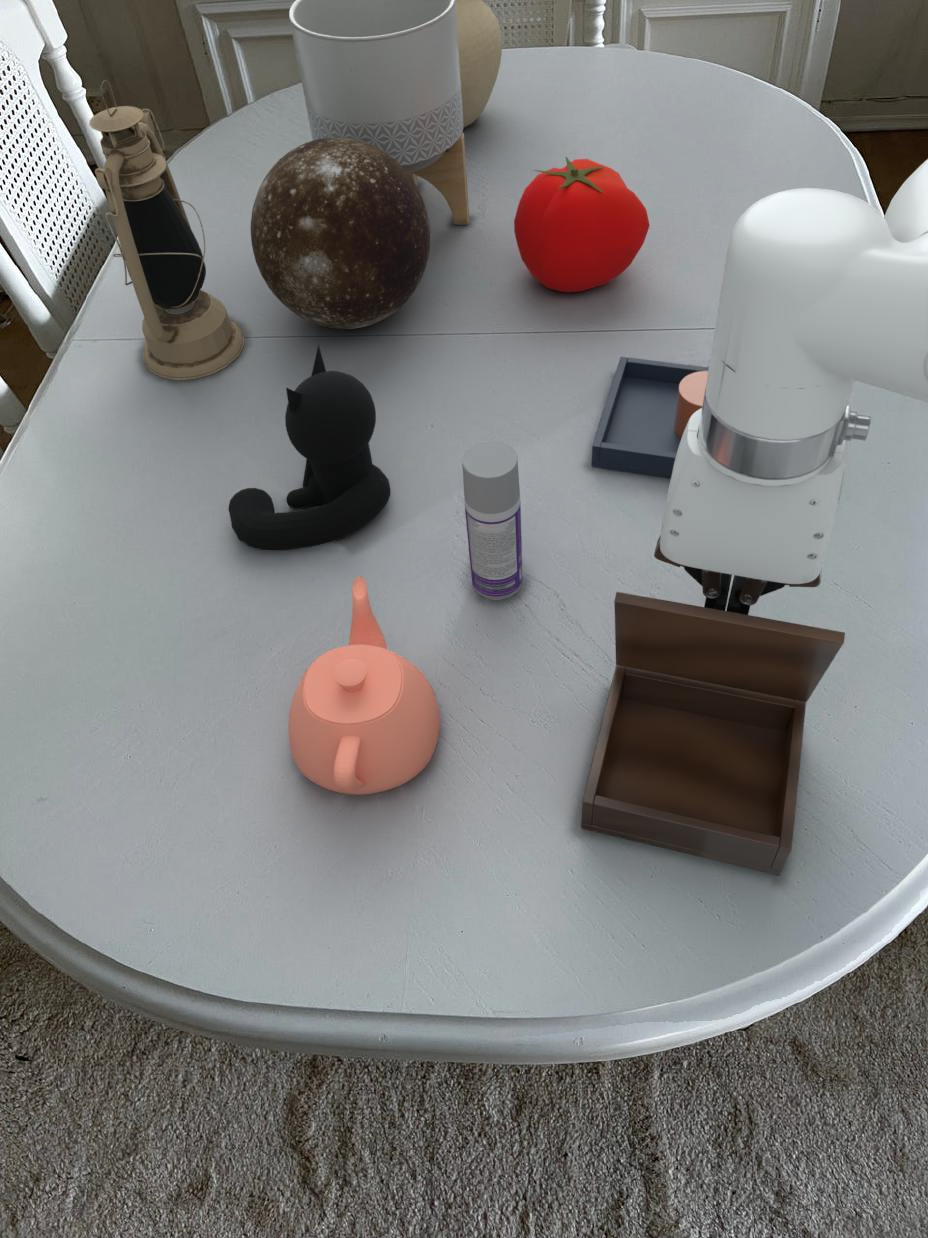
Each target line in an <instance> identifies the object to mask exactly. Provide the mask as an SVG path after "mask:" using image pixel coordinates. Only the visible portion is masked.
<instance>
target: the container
mask: <svg viewBox="0 0 928 1238" xmlns="http://www.w3.org/2000/svg"><path fill="white" fill-rule="evenodd" d="M518 460H519V459H518V453H517V451H516V450H515V448H513V446H512V445H510V444H509V443H506V442H504V441H501V440H495V439H494V440H493V439H492V440H491V439H489V440H482V441H479V442H475V443H474V444H472V445H470V446H469V447H468V448H467V449H466V450H464V452H463V455H462V458H461V465H462V478H463V479H462V481H463V499H464V500H463V501H464V512H465V523H466V533H467V544H468V545H467V546H468V554H469V555H468V556H469V566H470V575H471V576H470V577H471V584H472V587H473V591H475V592H476V593H477V594H478V595H479V596H480V597H482V598H485V599H487V600H491V601H492V600H493V601H502V600H506V599H509V598H511V597H513V596H515V595H516V594H517V593H518V592H519V591H520V589H521V588H522V585H523V582H524V581H523V579H524V578H523V577H524V576H523V573H524V572H523V545H522V544H523V542H522V507H521V494H520V493H521V491H520V478H519V477H520V475H519V473H520V472H519V461H518Z"/></svg>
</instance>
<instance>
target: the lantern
mask: <svg viewBox="0 0 928 1238" xmlns="http://www.w3.org/2000/svg"><path fill="white" fill-rule="evenodd" d="M104 83H107V84H108V86H109V89H110V92H111V95H112V100H113V103H114V106H112V107H111V108H108V105H107V103H106V100H105V98H104V94H103V85H104ZM100 95H101V98H102V101H103V103H104V106H105V108H106V109H104V110H102V111H99V112H98V113H96V114H94V115H93V116H92V117H91V119H89V123H88V124H89V126H90V128H91V129H92V130H95V131H96V132H97V131H98V132H100V133H101V136H102V137H101V139H100V142H99V144H100V147H101V151H102V154H103V156H104V158H105V162H104V165H103V167H102V168H95V170H94V173H95V175H96V182H97V184H98V187H100V189H103V190H105V194H106V199H107V203H108V207H109V210H110V211H108V212H105V220H106V222H107V225H108V227H109V230H110V231H111V233H112V235H113V238H114V240H115V241H116V244H117V246H118V248H119V251H120V253H114V254H113V255H112V257H113V258H122V260H123V269H124V276H125V277H124V285H125V286H129V285H131V284H132V286H133V289H134V292H135V295H136V298H137V301H138V303H139V306H140V309H141V312H142V315H143V320H142V323H141V324H142V325H141V330H142V331H141V332H142V333H143V336H144V339H145V341H146V343H145V345H144V348H143V357H142V359H143V361H142V362H143V363H144V365H145V366H146V368H147V369H148V370H149V372H151V373H152V374H154V375H156V376H158V377H160V378H162V379H167V380H173V381H185V380H186V381H187V380H197V379H201V378H203V377H208V376H212V375H214V374H216V373H218V372H220V371H221V370H223V369H225V368H227V367H229V366H230V365H231V364H232V363H233V362H234V361H235V360H236V359H237V358H238V357H239V356H240V355H241V353H242V351H243V349H244V347H245V335H244V331H242V330H241V328H240V327H239V325H238V324H236V323H235V322H234V321H233V320H231V319H230V318H229V314H228V311H227V307H226V306H225V304H223V302H222V300H220V299H218V298H217V297H215V296H213V295H212V294H210V293H209V292H206V291H205V290H202V289H203V286H204V283H205V279H206V275H207V267H206V263H205V256H206V255H205V254H206V237H205V232H204V231H205V229H204V226H203V223H202V219H201V217H200V215H199V213H198V211H197V209H196V208H195V207H194V206H193V205H192V204H191V203H190V202H188V201H186V200H182V199H181V196H180V193H179V190H178V188H177V186H176V183H175V181H174V180H175V179H174V177H173V175H172V172H171V170H170V167H169V164H168V161H167V160H166V156H165V155H164V152H163V151H165V141H164V139H163V136H162V133H161V131H160V128H159V126H158V123H157V121H156V118H155V115H154V113H153V112H152V111H151V110H150V109H149V108H142V109H141V108H139V107H136V106H131V105H123V106H122V105H121V106H117V102H116V99H115V95H114V92H113V89H112V86H111V84H110V81H108V80H107V79H104V80H103V81H102V82H101V83H100ZM156 130H157V132H158V135H159V138H160V141H161V144H162V147H161V145H160V143H159V141H158V139H157V137H156V135H155V131H156ZM183 203H185V204H187V205H189V206H190V207H192V209H193V210H194V211H195V214H196V216H197V218H198V220H199V224H200V227H201V231H202V237H203V238H202V239H203V253H202V249H201V247H200V244H199V242H198V240H197V238H196V236H195V234H194V231H193V229H192V228H191V224H190V221H189V218H188V216H187V213H186V210H185V208H184V205H183ZM109 215H111V218H112V221H113V224H114V228H115V232H116V234H115V232H114V229H113V227H112V224H111V222H110V220H109ZM127 272H128V273H127ZM128 275H129V278H130V280H131V281H129V282H128Z"/></svg>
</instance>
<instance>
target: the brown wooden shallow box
mask: <svg viewBox="0 0 928 1238" xmlns="http://www.w3.org/2000/svg"><path fill="white" fill-rule="evenodd" d="M806 707H807V702H803V701H798V700H793V699H788V698H782V697H777V696H772V695H767V694H762V693H757V692H752V691H747V690H742V689H737V688H732V687H727V686H721V685H716V684H711V683H706V682H701V681H696V680H691V679H686V678H681V677H676V676H671V675H666V674H660V673H655V672H650V671H645V670H640V669H635V668H630V667H625V666H620V665H616V664H615V668H614V672H613V676H612V680H611V685H610V689H609V693H608V696H607V701H606V704H605V709H604V713H603V717H602V721H601V724H600V728H599V733H598V737H597V741H596V746H595V748H594V753H593V757H592V761H591V765H590V769H589V773H588V778H587V782H586V785H585V790H584V793H583V798H582V804H581V821H580V829H581V830H582V829H583V830H587V831H591V832H595V833H600V834H604V835H608V836H612V837H616V838H621V839H625V840H627V841H632V842H636V843H641V844H645V845H648V846H649V845H650V846H653V847H654V846H655V847H659V848H663V849H667V850H671V851H675V852H679V853H683V854H687V855H692V856H696V857H700V858H705V859H709V860H713V861H717V862H720V863H721V862H722V863H726V864H729V865H733V866H738V867H742V868H746V869H751V870H756V871H760V872H764V873H767V874H772V875H775V876H781V874H782V872H783V870H784V867H785V865H786V863H787V861H788V859H789V856H790V854H791V852H792V848H793V840H794V839H793V837H794V829H795V818H796V810H797V809H796V808H797V799H798V787H799V779H800V769H801V757H802V750H803V738H804V729H805V728H804V727H805V718H806Z"/></svg>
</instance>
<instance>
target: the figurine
mask: <svg viewBox="0 0 928 1238" xmlns="http://www.w3.org/2000/svg"><path fill="white" fill-rule="evenodd" d="M312 366H313V367H312V371H311V375H310V376H308V377H307V378H305V379H304V380H303V381H301V383H299V384H298V386H297V387H296V388H295V389H294V390H293V389H291V388H288V387H285V390H286V397H287V405H286V409H285V416H284V422H285V429H286V433H287V436H288V439H289V442H290V443H291V445H292V447H294V449H295V450H296V451H297V453H299V454H300V455H301V456H302V457H303V458H305V467H304V473H303V480H302V487H300V488H296V489H293V490H290V491H289V492H288V493H287V495H286V500H285V501H286V503H287V505H288V506H289V508H291V509H294V511H286V512H276V509H275V505H274V501H273V499H272V496H270V495H269V493H267V492H266V491H265V490H264V489H261V488H257V487H246V488H244V489H241V490H239V491H237V492H236V493H234V494H233V496H232V497H231V498H230V499H229V504H228V509H227V510H228V513H229V514H228V515H229V519H230V523H231V528H232V530H233V532H234V533H235V536H236V538H237V539H238V541H240V542H242V543H243V544H245V545H246V546H248V548H249V547H250V548H252V549H256V550H260V551H266V552H267V551H269V552H278V551H280V552H281V551H293V550H299V549H301V550H302V549H308V548H313V547H318V546H321V545H326V544H330V543H333V542H337V541H339V540H343V539H344V538H347V537H349V536H351V535H353V534H355V533H356V532H358V531H359V530H361V529H362V528H364V527H365V526H367V525H368V524H369V523H371V521H373V520H374V519H375V518H376V517H377V516H378V515H379V514H380V513H381V512H382V511H383V509H384V508H385V506H386V505H387V504H388V503H389V500H390V498H391V485H390V484H391V483H390V480H389V478H388V477H387V476H386V474H385V473H384V472H383V470H381V468H379V467H378V466H377V465H374V464H373V458H372V452H371V448H370V441H371V440H372V437H373V435H374V432H375V427H376V422H377V411H376V406H375V402H374V399H373V397H372V395H371V393H370V391H369V390H368V388H367V387H366V386H365V385H364V383H363V382H362V381H361V380H359V379H357V378H356V377H355V376H353V375H351V374H349V373H346V372H343V371H338V370H337V371H336V370H327V369H326V366H325V363H324V358H323V355H322V352H321V349H320V345H319V344H317V349H316V353H315V359H314V362H313V365H312ZM319 504H323V505H319ZM316 505H319V506H316ZM311 506H312V507H311ZM313 506H316V507H313ZM307 507H311V508H307ZM304 508H306V509H304ZM300 509H302V510H300Z"/></svg>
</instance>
